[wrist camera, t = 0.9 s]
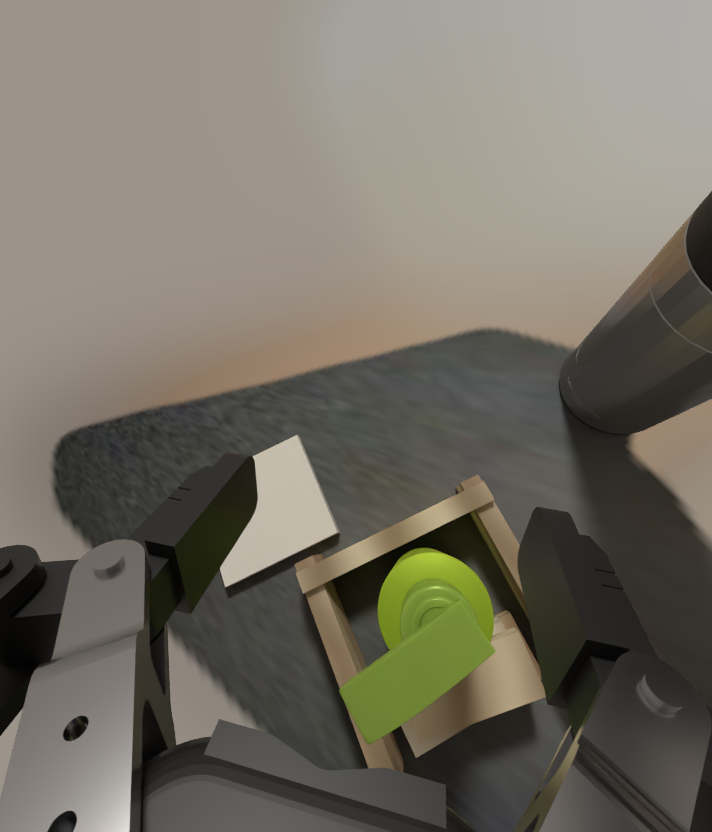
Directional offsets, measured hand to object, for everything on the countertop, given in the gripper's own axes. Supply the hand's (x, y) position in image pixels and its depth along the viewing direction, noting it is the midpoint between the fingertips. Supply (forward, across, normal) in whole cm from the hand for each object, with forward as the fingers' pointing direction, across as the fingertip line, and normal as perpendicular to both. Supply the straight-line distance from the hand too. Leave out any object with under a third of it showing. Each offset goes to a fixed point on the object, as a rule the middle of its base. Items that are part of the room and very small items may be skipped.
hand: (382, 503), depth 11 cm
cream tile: (+17, +12, +18) cm, 27 cm away
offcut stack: (+9, -7, +24) cm, 26 cm away
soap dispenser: (+13, -3, +20) cm, 24 cm away
